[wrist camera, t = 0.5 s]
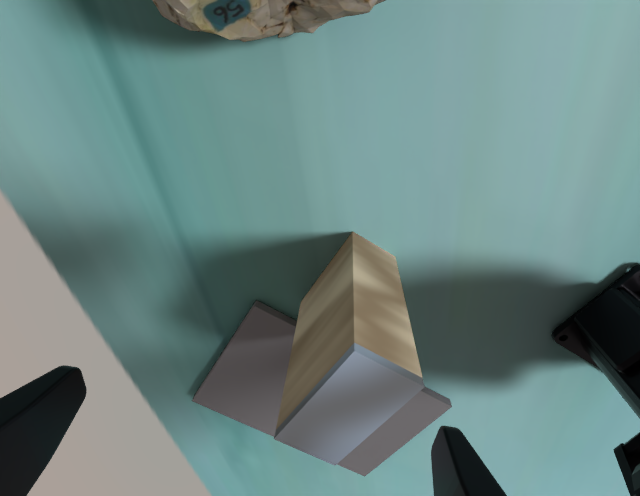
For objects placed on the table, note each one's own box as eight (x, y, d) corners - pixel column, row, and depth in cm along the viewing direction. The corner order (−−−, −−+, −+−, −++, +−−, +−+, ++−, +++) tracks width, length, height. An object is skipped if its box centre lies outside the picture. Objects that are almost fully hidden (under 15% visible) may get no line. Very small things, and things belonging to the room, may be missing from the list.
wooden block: (395, 256, 21) (424, 386, 13) (340, 322, 24) (335, 465, 15) (352, 231, 20) (354, 350, 12) (300, 301, 23) (273, 439, 15)
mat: (449, 399, 26) (451, 406, 26) (364, 469, 31) (364, 476, 31) (256, 300, 23) (254, 305, 23) (194, 394, 28) (191, 401, 28)
